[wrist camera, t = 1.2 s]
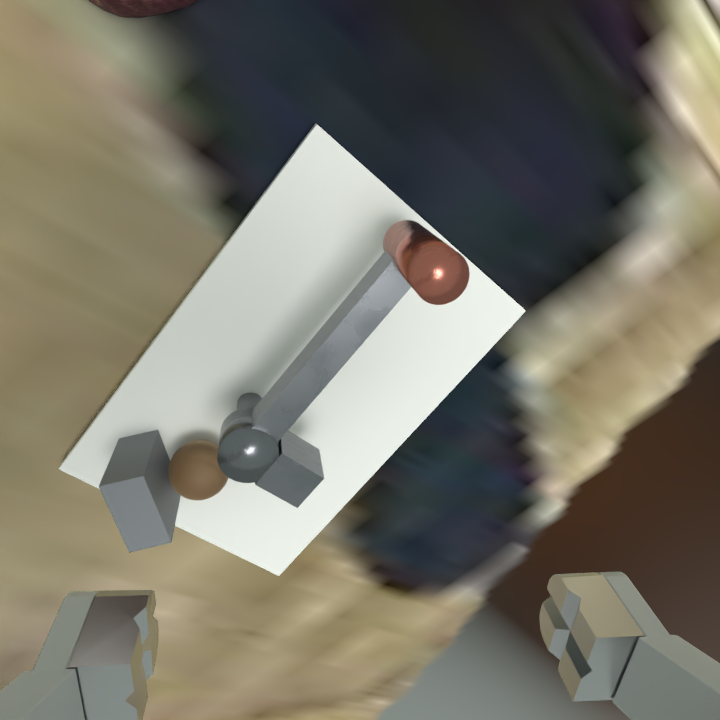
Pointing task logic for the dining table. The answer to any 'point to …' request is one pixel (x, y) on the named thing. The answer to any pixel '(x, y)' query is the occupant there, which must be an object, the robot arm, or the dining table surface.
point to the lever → (333, 363)
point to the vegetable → (141, 6)
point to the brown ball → (196, 471)
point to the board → (284, 363)
